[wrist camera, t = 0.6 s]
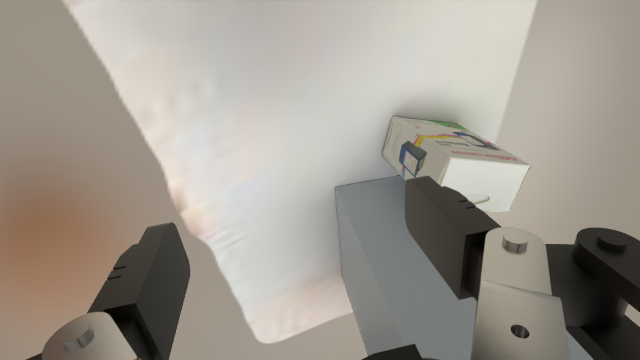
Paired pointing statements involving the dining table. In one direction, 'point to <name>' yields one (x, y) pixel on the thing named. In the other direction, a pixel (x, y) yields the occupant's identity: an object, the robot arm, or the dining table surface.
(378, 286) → the stand
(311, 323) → the dining table surface
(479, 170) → the ink box
